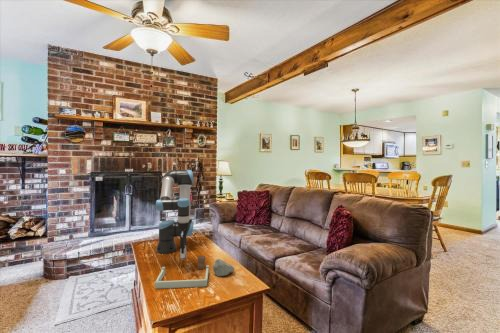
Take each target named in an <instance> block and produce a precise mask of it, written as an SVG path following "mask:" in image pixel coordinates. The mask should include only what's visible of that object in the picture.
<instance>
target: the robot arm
mask: <svg viewBox="0 0 500 333" xmlns="http://www.w3.org/2000/svg"><path fill="white" fill-rule="evenodd" d="M194 179H195V178H194V173H193V171H192V170H191V169H171V170H169V171H166V173H165V174H164V175H163V176H162V178H161V184H162V185H161V192H160V197H159V199H157V200H156V201H155V210H156V211H161V212H163V211H177V216H176V219H177V221H175V220H174V219H167V220H164V221H161V222H160V223H159V225H158V241H157V242H158V243H157V245H156V248H155V249H156V250H155V251H156V253H158V254H162V255H163V254H170V253H174V252H176V251H177V245H176V242H175V238H179V250H180V249H181V258H185V247H186V248H187V246H188V243H187V237H190V236H192V235H193V231H194V223H195V222H194V220H193V218H192V217H191V188H192V186H193V184H194V183H195V180H194ZM175 184H176V185H177V187H178V188H179V199H177V198H176V199H175V198H173V199H172V197H173V196H172V194H173V187H174V185H175Z"/></svg>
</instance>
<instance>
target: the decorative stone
mask: <svg viewBox="0 0 500 333" xmlns="http://www.w3.org/2000/svg"><path fill="white" fill-rule="evenodd" d="M212 270H213V273H214V275H216V276H217V277H224V276H227V275H229V274H232V273H233V272H234V271H235V268H234V266H233V265H231V264H229V263H228V262H226V261H224V260H222V259H220V258H219V259H215V261H214V264H213V266H212Z"/></svg>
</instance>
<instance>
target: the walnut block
mask: <svg viewBox="0 0 500 333" xmlns="http://www.w3.org/2000/svg"><path fill="white" fill-rule="evenodd" d="M203 269H205V270H206V255H198V256H197V270H203Z"/></svg>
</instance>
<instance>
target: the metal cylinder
mask: <svg viewBox="0 0 500 333" xmlns="http://www.w3.org/2000/svg"><path fill="white" fill-rule="evenodd" d="M186 259H187V246H186V247H185V258H181V249H179V260H181V261H185V260H186Z"/></svg>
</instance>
